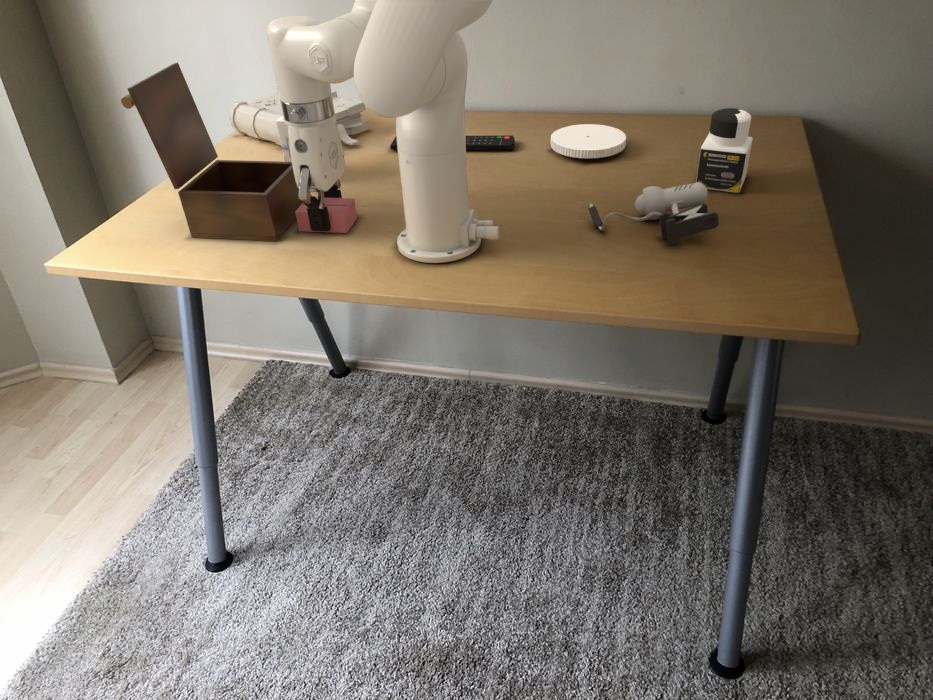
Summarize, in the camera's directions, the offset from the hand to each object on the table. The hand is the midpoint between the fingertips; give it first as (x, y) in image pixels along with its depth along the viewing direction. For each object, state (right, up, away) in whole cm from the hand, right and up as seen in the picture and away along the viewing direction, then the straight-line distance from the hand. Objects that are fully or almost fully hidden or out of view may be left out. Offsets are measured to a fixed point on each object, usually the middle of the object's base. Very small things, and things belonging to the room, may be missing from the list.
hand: (327, 220), depth 117 cm
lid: (-22, +14, -5) cm, 26 cm away
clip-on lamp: (+50, -2, -6) cm, 51 cm away
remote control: (+20, +19, +26) cm, 38 cm away
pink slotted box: (0, -1, 0) cm, 1 cm away
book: (-11, +24, +35) cm, 44 cm away
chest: (-13, 0, +3) cm, 14 cm away
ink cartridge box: (-7, +11, +17) cm, 22 cm away
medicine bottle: (+65, +7, +6) cm, 66 cm away
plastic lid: (+45, +17, +21) cm, 53 cm away
